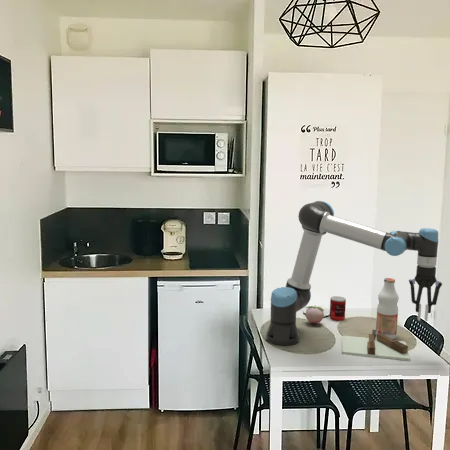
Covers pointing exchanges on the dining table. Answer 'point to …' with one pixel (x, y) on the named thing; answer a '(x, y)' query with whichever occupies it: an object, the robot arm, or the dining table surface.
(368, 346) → the tongs fixed
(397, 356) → the board
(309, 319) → the decorative fruit
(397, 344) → the arm
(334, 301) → the canned food
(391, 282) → the fruit juice
